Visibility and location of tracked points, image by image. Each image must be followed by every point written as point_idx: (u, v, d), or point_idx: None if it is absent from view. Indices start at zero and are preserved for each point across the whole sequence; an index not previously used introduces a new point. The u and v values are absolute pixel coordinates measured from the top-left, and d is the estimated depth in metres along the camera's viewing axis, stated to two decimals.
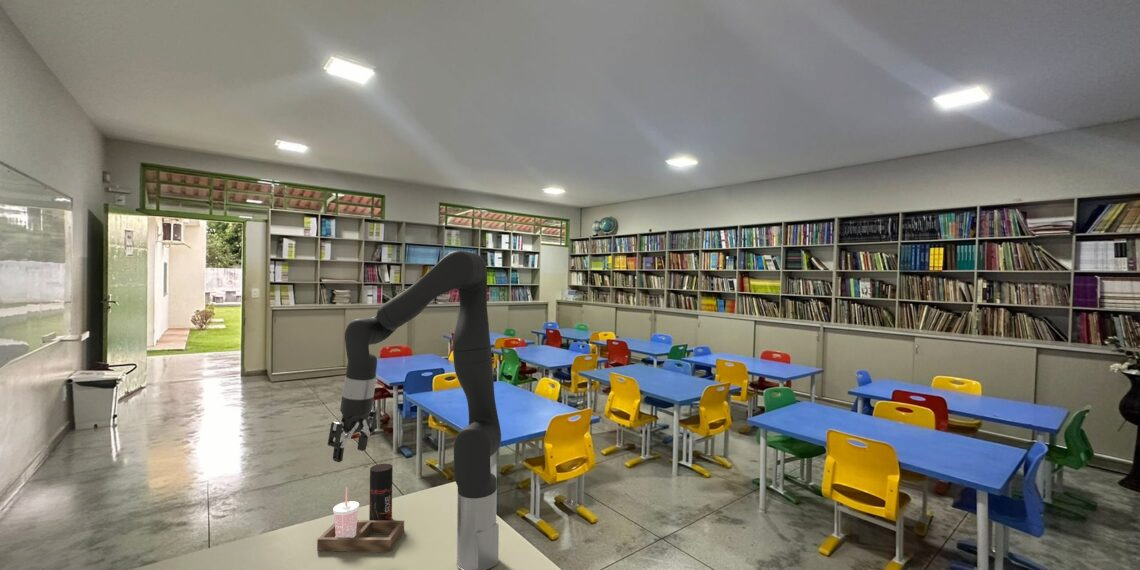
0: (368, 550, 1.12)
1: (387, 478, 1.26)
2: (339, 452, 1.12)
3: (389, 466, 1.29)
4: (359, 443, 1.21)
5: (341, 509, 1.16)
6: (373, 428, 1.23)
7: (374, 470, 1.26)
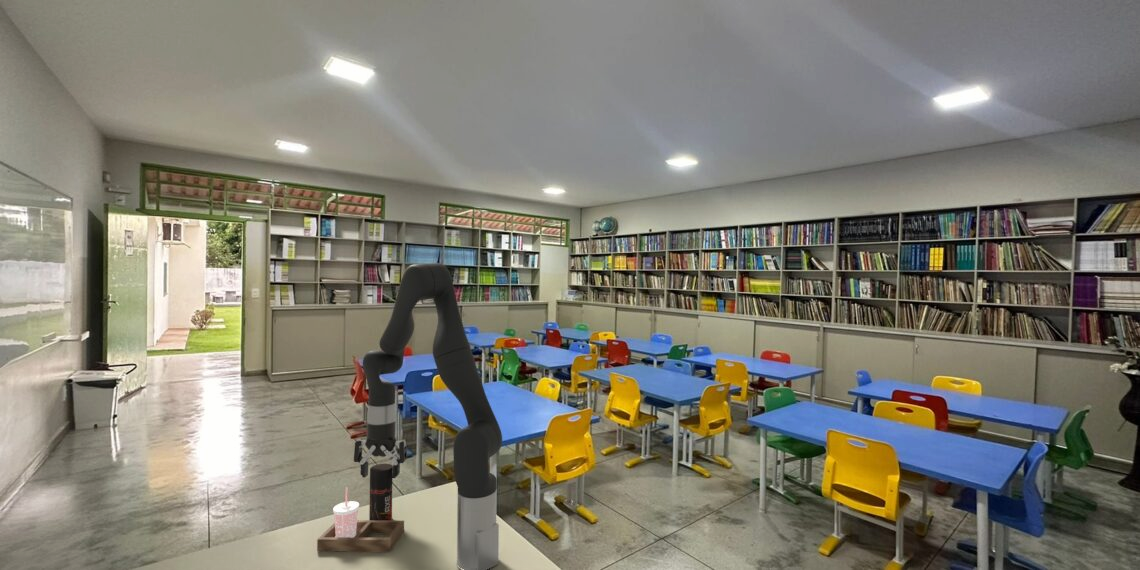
0: (368, 550, 1.12)
1: (387, 478, 1.26)
2: (361, 468, 1.27)
3: (389, 466, 1.29)
4: None
5: (341, 509, 1.16)
6: (401, 459, 1.27)
7: (374, 470, 1.26)
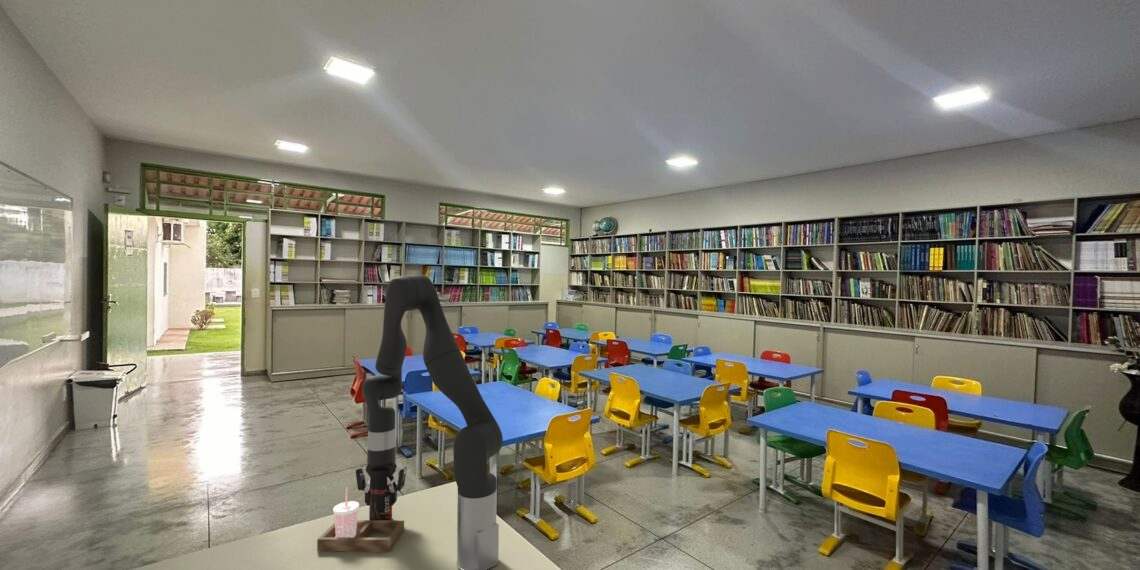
0: (368, 550, 1.12)
1: None
2: (366, 496, 1.27)
3: None
4: None
5: (341, 509, 1.16)
6: (398, 486, 1.27)
7: (374, 470, 1.26)
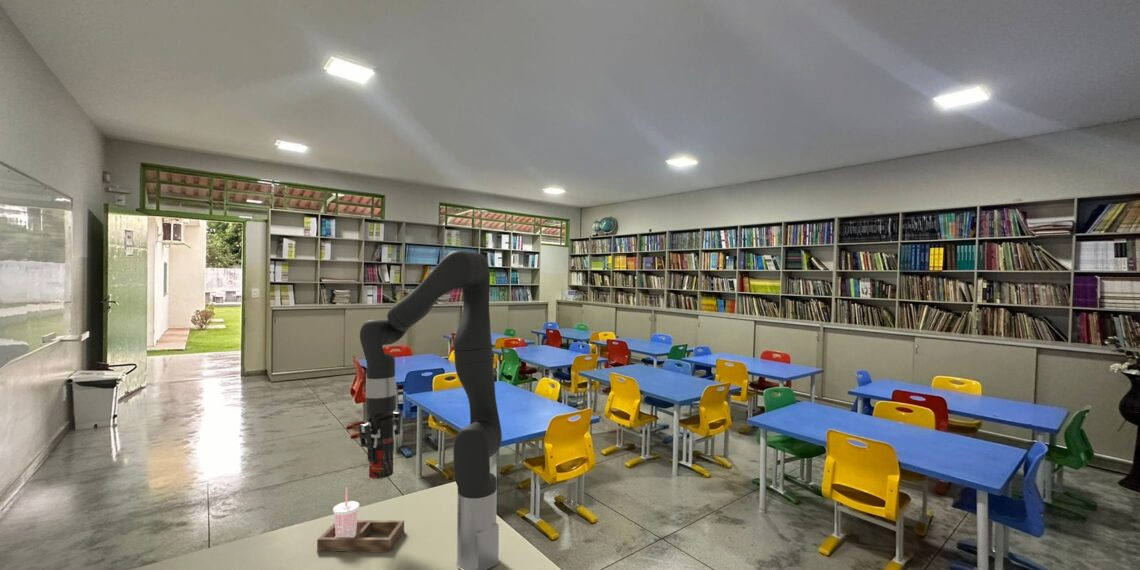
0: (368, 550, 1.12)
1: None
2: (373, 452, 1.16)
3: None
4: None
5: (341, 509, 1.16)
6: (398, 430, 1.25)
7: (385, 419, 1.19)
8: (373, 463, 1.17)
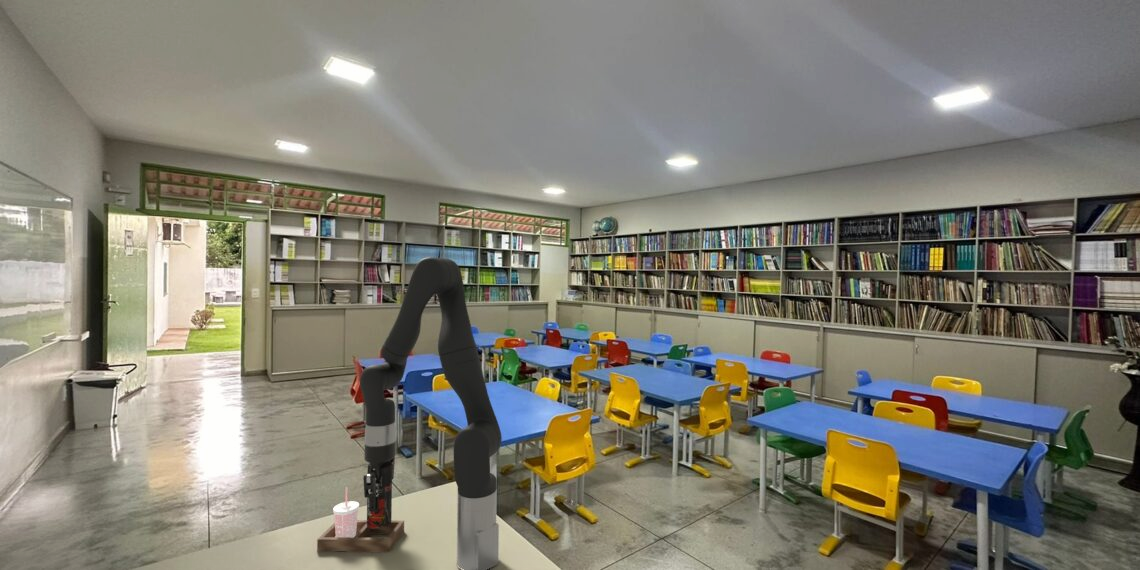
0: (368, 550, 1.12)
1: None
2: (375, 501, 1.14)
3: None
4: None
5: (341, 509, 1.16)
6: (392, 475, 1.23)
7: (386, 466, 1.17)
8: (374, 513, 1.14)
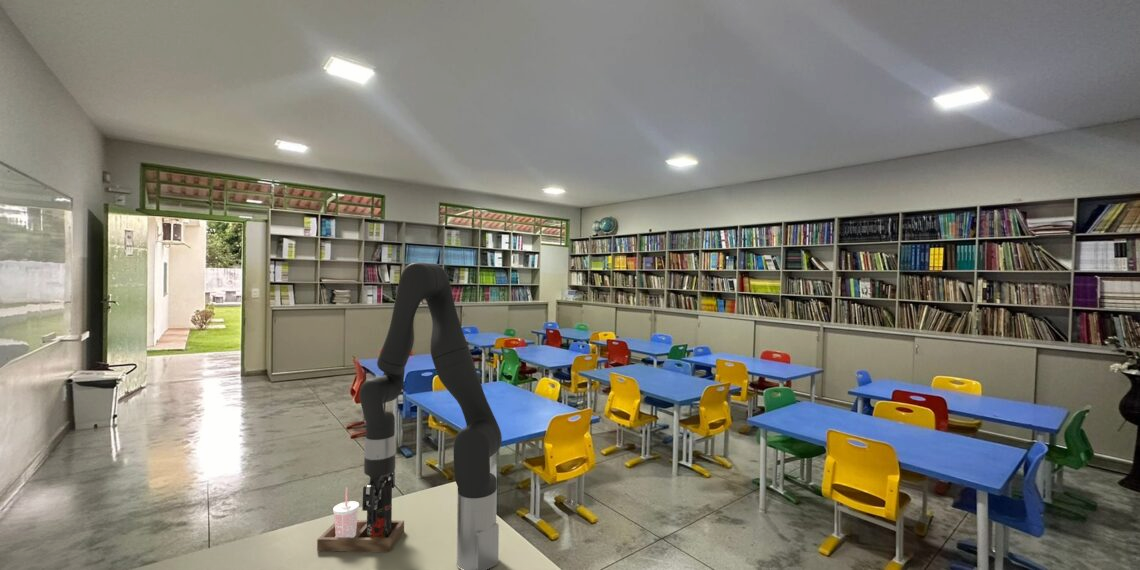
0: (368, 550, 1.12)
1: None
2: (373, 514, 1.12)
3: None
4: None
5: (341, 509, 1.16)
6: (393, 484, 1.24)
7: (386, 485, 1.16)
8: (374, 532, 1.14)
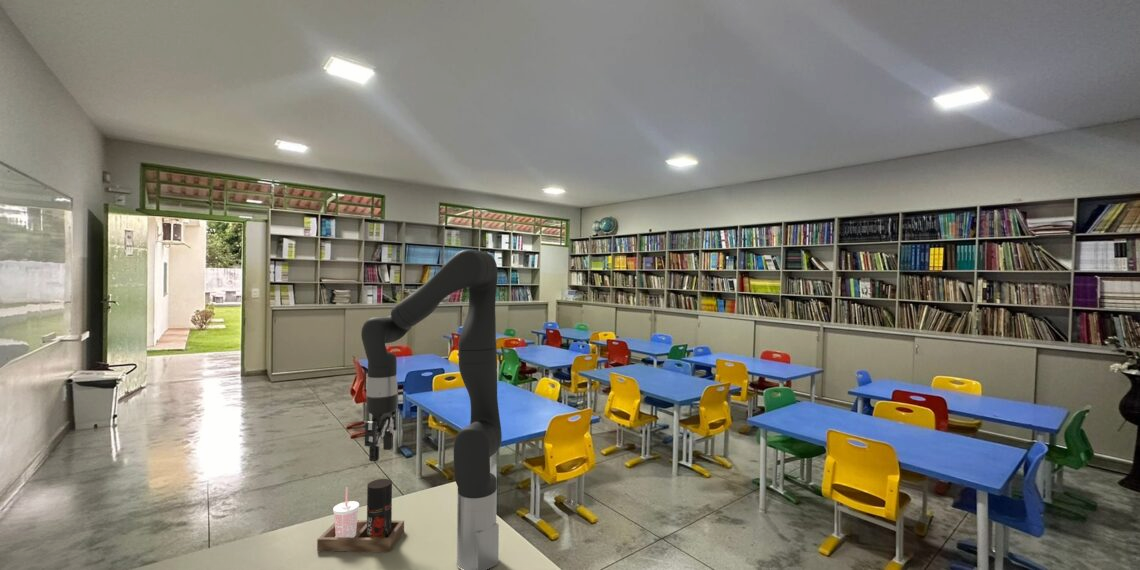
0: (368, 550, 1.12)
1: None
2: (376, 451, 1.13)
3: (379, 480, 1.19)
4: (385, 443, 1.22)
5: (341, 509, 1.16)
6: (395, 426, 1.25)
7: (386, 485, 1.16)
8: (374, 532, 1.14)
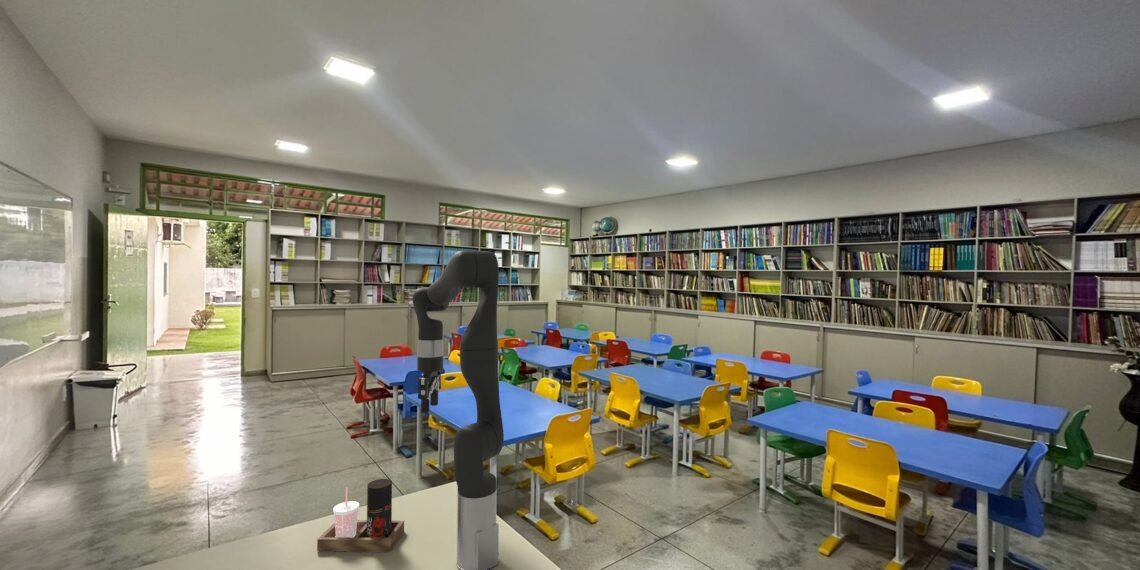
0: (368, 550, 1.12)
1: None
2: (427, 404, 1.30)
3: (379, 480, 1.19)
4: (431, 399, 1.39)
5: (341, 509, 1.16)
6: (440, 385, 1.41)
7: (386, 485, 1.16)
8: (374, 532, 1.14)
